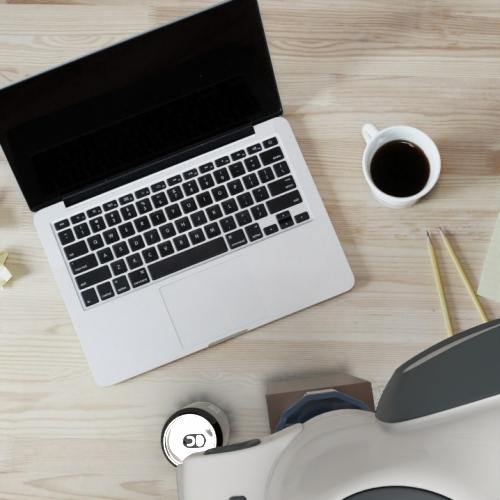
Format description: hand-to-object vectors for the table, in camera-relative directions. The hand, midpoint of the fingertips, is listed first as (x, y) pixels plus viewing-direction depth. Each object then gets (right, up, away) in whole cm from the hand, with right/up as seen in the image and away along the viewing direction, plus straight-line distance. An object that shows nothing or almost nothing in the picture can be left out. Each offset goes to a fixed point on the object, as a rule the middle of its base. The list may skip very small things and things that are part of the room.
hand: (335, 459), depth 50 cm
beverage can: (-12, -7, +37) cm, 39 cm away
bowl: (0, -1, +10) cm, 10 cm away
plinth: (+2, -5, +36) cm, 37 cm away
